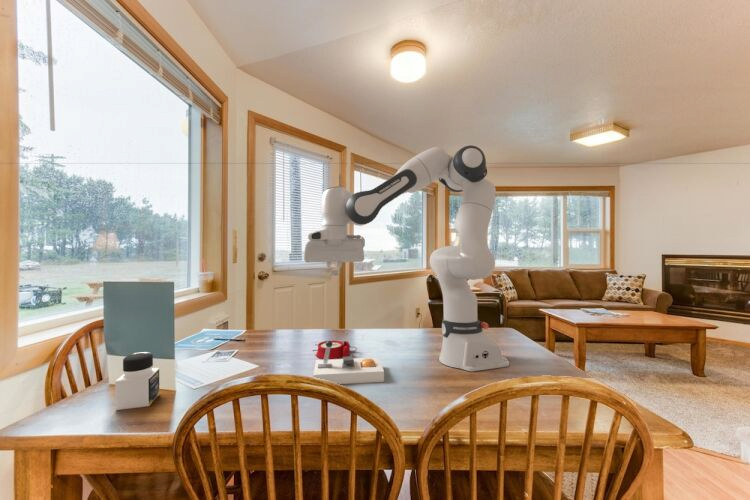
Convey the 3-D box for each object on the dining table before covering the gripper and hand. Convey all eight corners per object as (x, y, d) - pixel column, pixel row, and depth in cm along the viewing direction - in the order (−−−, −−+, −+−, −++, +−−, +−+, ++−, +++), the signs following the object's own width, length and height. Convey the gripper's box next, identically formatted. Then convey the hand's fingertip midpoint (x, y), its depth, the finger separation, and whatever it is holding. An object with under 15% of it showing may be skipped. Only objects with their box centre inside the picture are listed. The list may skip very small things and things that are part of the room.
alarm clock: (314, 341, 121) (353, 331, 122) (318, 357, 121) (357, 347, 122) (311, 350, 111) (353, 339, 112) (315, 367, 111) (357, 357, 112)
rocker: (352, 359, 101) (352, 356, 101) (353, 363, 94) (353, 360, 94) (343, 360, 100) (343, 356, 101) (343, 364, 94) (343, 360, 94)
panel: (378, 366, 104) (378, 356, 104) (384, 381, 92) (384, 369, 92) (316, 369, 102) (315, 358, 102) (313, 385, 90) (313, 373, 90)
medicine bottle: (149, 406, 79) (149, 357, 79) (114, 411, 77) (114, 360, 77) (159, 394, 85) (159, 348, 85) (128, 397, 83) (127, 351, 83)
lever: (328, 362, 98) (333, 340, 98) (328, 364, 96) (333, 342, 96) (322, 361, 97) (326, 339, 97) (321, 363, 95) (326, 341, 95)
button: (373, 370, 100) (373, 358, 100) (374, 374, 96) (374, 362, 96) (361, 370, 100) (361, 359, 100) (362, 375, 96) (362, 363, 96)
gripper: (364, 235, 114) (364, 274, 114) (305, 235, 111) (305, 275, 111) (365, 234, 108) (365, 275, 108) (303, 234, 105) (303, 276, 105)
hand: (334, 275), depth 110 cm, fingers closed
